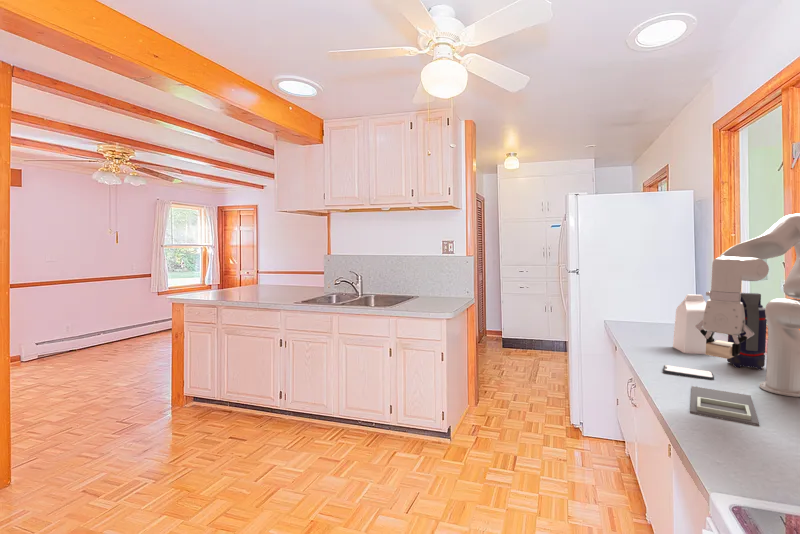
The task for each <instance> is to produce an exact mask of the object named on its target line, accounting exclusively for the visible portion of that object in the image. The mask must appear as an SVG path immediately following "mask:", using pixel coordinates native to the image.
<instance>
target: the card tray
mask: <svg viewBox="0 0 800 534" xmlns="http://www.w3.org/2000/svg"><path fill="white" fill-rule="evenodd" d="M701 402H706V403H711V404H717V405H723V406H729V407H734V408H740V409H745V412H746V414H742V413H736V412H731V411H725V410H720V409H714V408H708V407H703V406H700V404H701ZM697 410H698V411H704V412H709V413H715V414H720V415H726V416H731V417H737V418H742V419H747V420H751V413H750V410H749V406H748V405H744V404H738V403H732V402H726V401H721V400H715V399H709V398H703V397H697Z"/></svg>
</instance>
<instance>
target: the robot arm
mask: <svg viewBox="0 0 800 534" xmlns="http://www.w3.org/2000/svg"><path fill="white" fill-rule="evenodd" d="M793 247H794V251H795V255H796V258H795V261H794V264H793V266H792V268H791V270H790V272H789V273H788V275H787V278H786V279H785V282H784V285H783V293H784V294H785V295H786V296H788V297H789V298H786V297H785V298H783V297H780V298H774V299H771V300H770V301H768V302H767V303H766V305H765V307H764V308H765V315H766V320H767V325H766V327H767V343H766V345H767V347H766V369H765V381H761V382H760V383H759V388H761V390H764V391H766V392H769V393H772V394H776V395H781V396H786V397H794V398H800V213H793V214H788V215H785V216H783V217H781V218H780V219H778V221H777V222H775V223H774V224H773V225H772V226H771V227H769V229H767V230H765V232H763V233H762V234H761V235H759V236H756V237H753V238H751V239H749V240H746V241H743V242H741V243H737V244H734V245H733V246H731V247H729V248H728V249H726V250H725V251H723V253H721V254H720V255H719V256H718V257H717V258H714V259H713V261H712V267H711V281H710V282H711V286H710V287H711V288H710V291H706V292H705V296H706V297H709V299H707V301H706V307H705V312H704V318H703V320H702V321H701V322H700V323H698V324H697V325H696V328H697V329H698V330H699V331H700V332H701V333H702V334H703V335H704V336H705V338H706V344H707V343H709V342H714V341H715V338H714V335H715V333H719V334H723V335H728V334H730V335H732V337H733V339H734V343H733V344H732V356H737V355H738V354H740V347H741V343H742V342H743V341H745V340H747V339H748V338H750V337H752V336H753V335H754V332H753V331H752V330H751V329H750V328H749V327H748V326H747V325H746V324H745V312H744V306H743V303H742V302H740V299H741V293H742V281H745V282H758V281H762V280H763V279H765V278H766V277H767V275H768V274H769V272H770V271H769V270H770V267H769V264H768V263H767V262H766V261H765V260H767V259H773V258H777V257H780V256H784V255H785V254H786V253H787V252H789V250H791V249H792V248H793ZM744 331H745V332H746V334H745V335H744V336H742V337H741V336H740V333H744Z"/></svg>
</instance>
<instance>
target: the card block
mask: <svg viewBox="0 0 800 534" xmlns="http://www.w3.org/2000/svg"><path fill="white" fill-rule="evenodd" d="M732 344H733V343H732V342H728V341H726V340H720V339H716V340H714V342H709V343H707V344H706V354H705V355H706V356H710V357H716V358H721V359H725V360H727V359H729V358H732V357H734V356H732ZM738 355H739V354H738Z"/></svg>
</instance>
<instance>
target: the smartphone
mask: <svg viewBox="0 0 800 534" xmlns="http://www.w3.org/2000/svg"><path fill="white" fill-rule="evenodd" d="M662 372H663V374H665V375H674V376H679V375H680V376H681V377H688V378H694V379H695V378H696V379H704V380H710V381H714V380H715V375H714V374H713V372H712V371H709V370H702V369H695V368H688V367H684V366H683V367H681V366H675V365H668V364H667V365H665V364H664V365H663V371H662Z"/></svg>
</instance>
